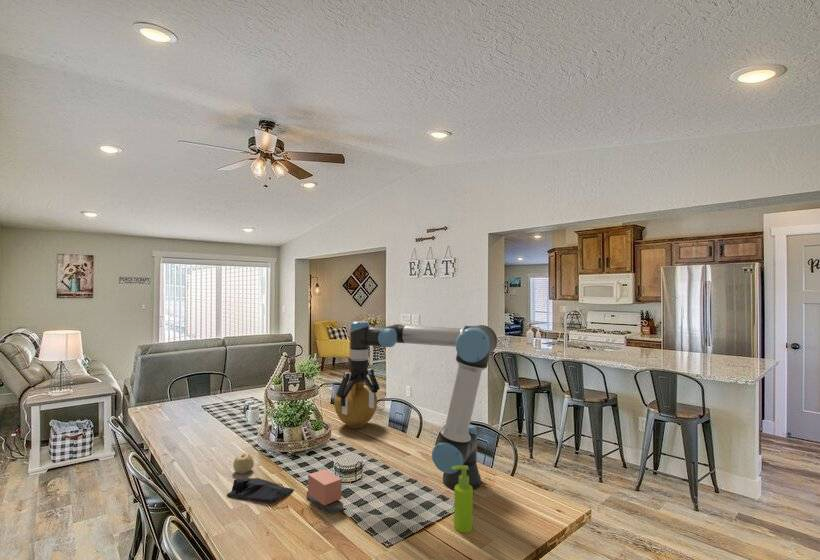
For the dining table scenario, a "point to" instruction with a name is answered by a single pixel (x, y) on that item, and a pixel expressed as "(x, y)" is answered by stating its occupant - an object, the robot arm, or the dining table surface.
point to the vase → (356, 406)
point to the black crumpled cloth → (258, 490)
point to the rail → (330, 507)
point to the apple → (243, 463)
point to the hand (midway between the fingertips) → (358, 410)
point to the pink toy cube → (324, 486)
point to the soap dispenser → (463, 501)
